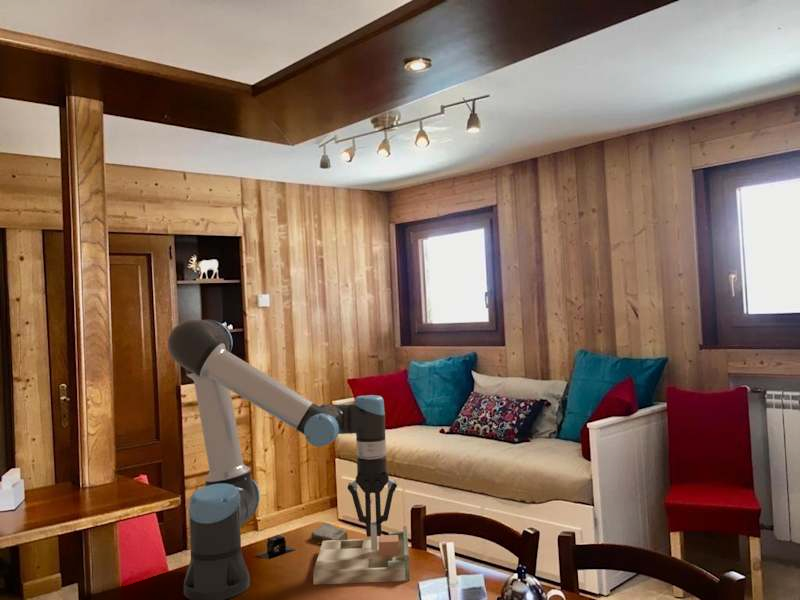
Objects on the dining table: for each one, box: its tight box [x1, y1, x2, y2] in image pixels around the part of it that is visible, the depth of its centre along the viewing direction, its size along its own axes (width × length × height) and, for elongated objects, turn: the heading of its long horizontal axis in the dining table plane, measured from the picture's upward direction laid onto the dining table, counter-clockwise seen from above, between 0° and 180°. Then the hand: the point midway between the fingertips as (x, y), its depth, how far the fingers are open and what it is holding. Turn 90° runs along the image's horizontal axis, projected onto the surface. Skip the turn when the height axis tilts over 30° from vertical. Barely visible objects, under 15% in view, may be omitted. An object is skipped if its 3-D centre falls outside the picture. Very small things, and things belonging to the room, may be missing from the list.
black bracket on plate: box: [256, 534, 297, 561], centre depth 180 cm, size 12×7×5 cm, turn 136°
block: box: [378, 534, 399, 556], centre depth 168 cm, size 5×5×4 cm
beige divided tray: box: [312, 525, 411, 586], centre depth 168 cm, size 23×22×6 cm
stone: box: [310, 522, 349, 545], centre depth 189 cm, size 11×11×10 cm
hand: (374, 548), depth 168 cm, fingers closed
